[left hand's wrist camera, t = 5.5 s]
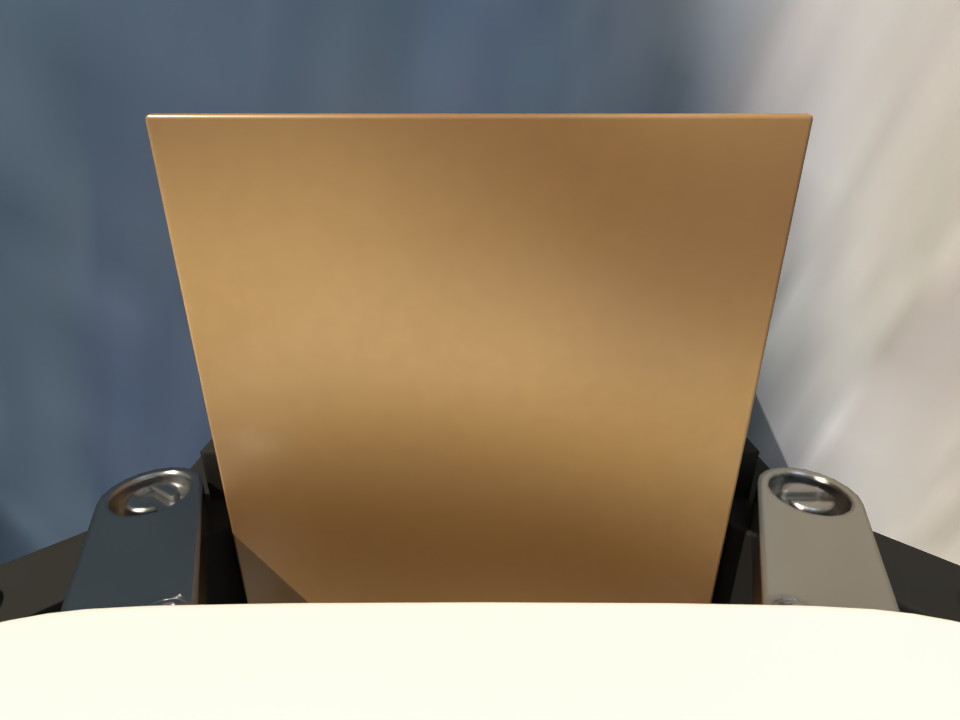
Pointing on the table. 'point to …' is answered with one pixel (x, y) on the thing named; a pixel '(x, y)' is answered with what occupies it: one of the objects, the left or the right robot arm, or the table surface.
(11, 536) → the table surface
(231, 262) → the post
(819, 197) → the table surface
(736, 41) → the table surface
